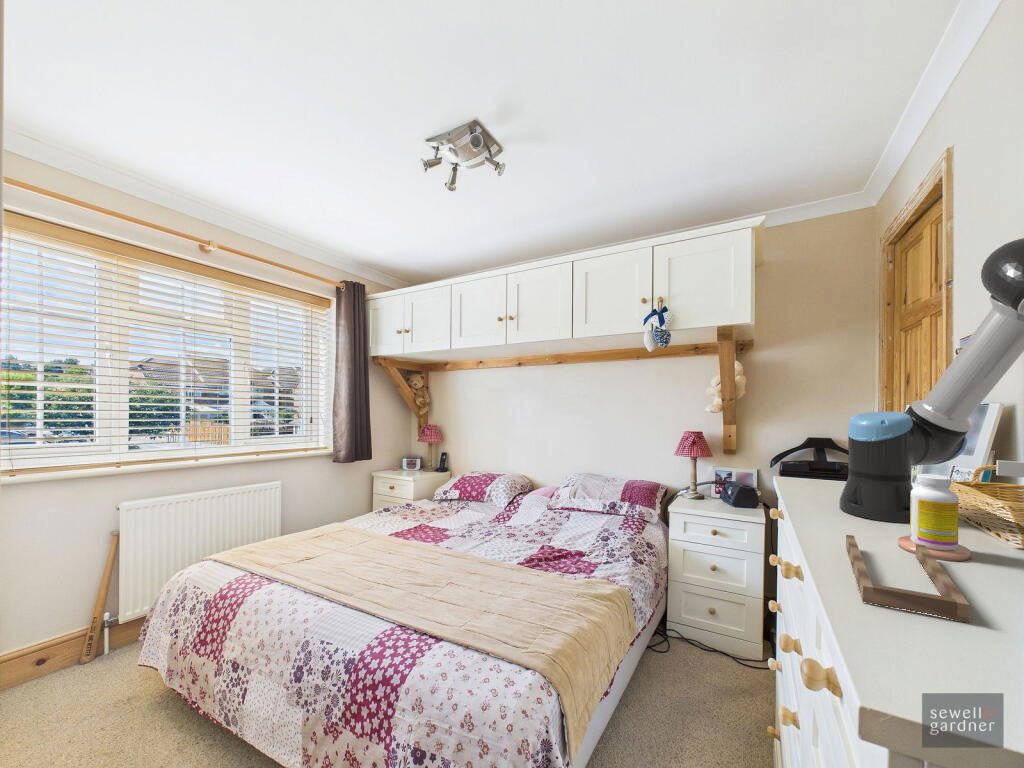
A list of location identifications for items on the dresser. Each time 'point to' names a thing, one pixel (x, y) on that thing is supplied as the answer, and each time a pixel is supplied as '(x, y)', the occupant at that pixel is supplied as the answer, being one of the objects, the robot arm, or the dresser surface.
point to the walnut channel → (944, 605)
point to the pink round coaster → (936, 551)
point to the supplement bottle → (934, 513)
